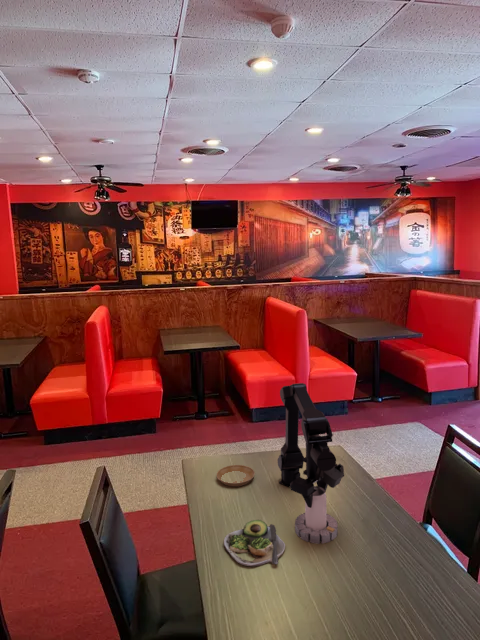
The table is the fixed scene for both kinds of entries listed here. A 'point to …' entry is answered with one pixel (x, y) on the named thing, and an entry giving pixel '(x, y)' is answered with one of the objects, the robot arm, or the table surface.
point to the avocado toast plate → (255, 543)
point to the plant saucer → (241, 468)
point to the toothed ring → (316, 535)
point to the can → (316, 510)
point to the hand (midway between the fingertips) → (315, 502)
